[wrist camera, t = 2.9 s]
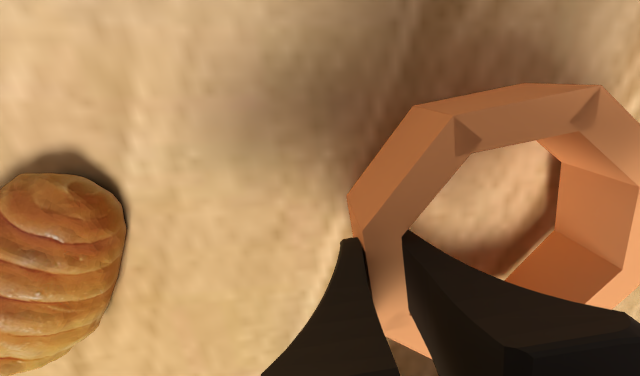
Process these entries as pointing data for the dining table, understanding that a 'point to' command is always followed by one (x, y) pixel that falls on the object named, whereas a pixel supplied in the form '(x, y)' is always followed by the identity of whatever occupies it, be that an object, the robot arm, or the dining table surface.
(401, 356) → the dining table surface
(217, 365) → the dining table surface
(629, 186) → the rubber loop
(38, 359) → the pastry
